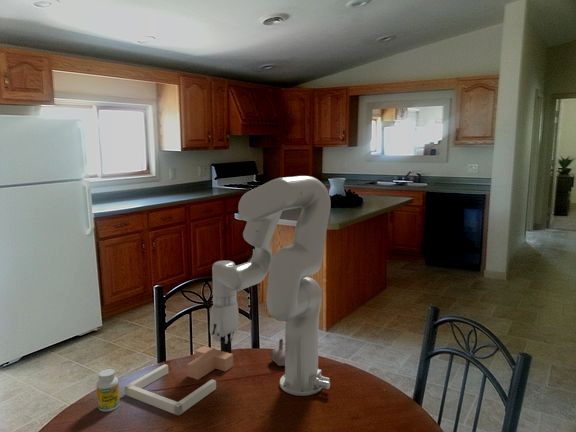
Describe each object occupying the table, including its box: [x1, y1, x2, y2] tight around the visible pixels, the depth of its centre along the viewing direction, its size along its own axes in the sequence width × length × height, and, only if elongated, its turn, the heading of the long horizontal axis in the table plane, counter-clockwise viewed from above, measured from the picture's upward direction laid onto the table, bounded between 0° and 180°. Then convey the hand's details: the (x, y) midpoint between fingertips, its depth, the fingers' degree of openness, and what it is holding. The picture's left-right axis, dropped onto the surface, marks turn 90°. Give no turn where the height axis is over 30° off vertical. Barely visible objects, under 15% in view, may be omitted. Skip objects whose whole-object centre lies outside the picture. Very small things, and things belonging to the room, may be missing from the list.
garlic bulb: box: [270, 338, 285, 367], centre depth 141 cm, size 8×7×8 cm
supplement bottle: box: [96, 368, 121, 412], centre depth 117 cm, size 5×5×10 cm
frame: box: [124, 363, 217, 417], centre depth 124 cm, size 20×15×2 cm
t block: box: [186, 345, 234, 380], centre depth 137 cm, size 12×12×4 cm
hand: (226, 352), depth 146 cm, fingers closed
